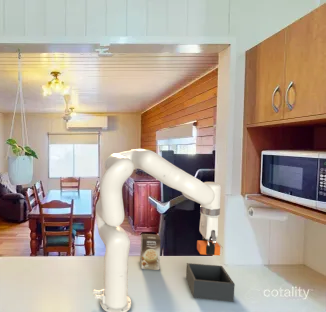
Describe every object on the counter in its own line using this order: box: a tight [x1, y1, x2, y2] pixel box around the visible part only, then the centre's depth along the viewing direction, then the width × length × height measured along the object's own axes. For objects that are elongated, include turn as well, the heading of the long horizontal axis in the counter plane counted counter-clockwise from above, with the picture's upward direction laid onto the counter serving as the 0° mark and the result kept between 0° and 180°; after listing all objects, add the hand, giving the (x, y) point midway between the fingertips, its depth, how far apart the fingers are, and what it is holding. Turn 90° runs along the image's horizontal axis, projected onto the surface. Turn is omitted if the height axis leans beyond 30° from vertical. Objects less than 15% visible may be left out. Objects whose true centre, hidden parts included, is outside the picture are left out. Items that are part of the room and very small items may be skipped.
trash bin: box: [185, 262, 236, 303], centre depth 107 cm, size 16×14×8 cm
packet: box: [196, 240, 224, 256], centre depth 107 cm, size 9×5×4 cm, turn 81°
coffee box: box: [139, 233, 162, 271], centre depth 125 cm, size 9×6×16 cm
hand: (208, 250), depth 107 cm, fingers closed on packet, 5 cm apart
